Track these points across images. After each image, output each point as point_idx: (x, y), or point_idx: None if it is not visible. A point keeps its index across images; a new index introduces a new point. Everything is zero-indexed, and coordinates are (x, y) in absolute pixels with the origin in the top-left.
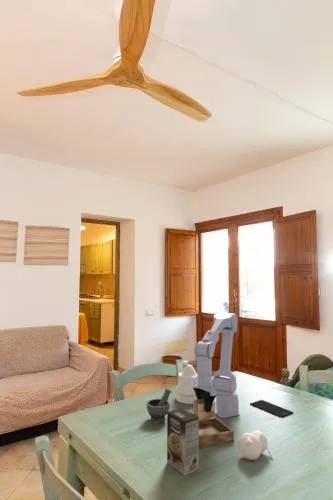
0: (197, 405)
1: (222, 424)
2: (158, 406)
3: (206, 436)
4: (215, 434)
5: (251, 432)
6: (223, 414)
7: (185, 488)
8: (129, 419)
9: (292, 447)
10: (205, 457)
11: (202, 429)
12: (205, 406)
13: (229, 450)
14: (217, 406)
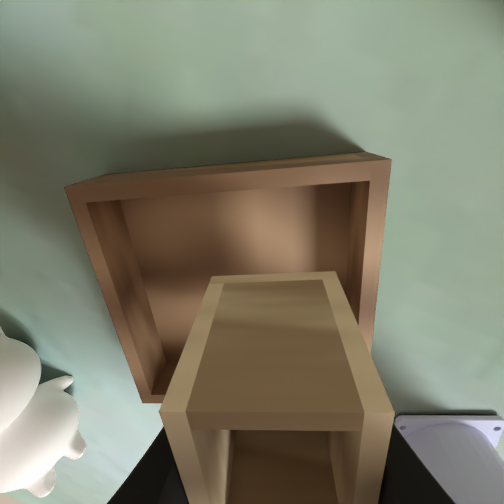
0: (220, 383)
1: None
2: None
3: (86, 248)
4: (113, 309)
5: (22, 460)
6: (412, 440)
7: None
8: None
9: (96, 482)
10: (10, 174)
11: None
12: (152, 446)
13: (81, 311)
14: (474, 466)
